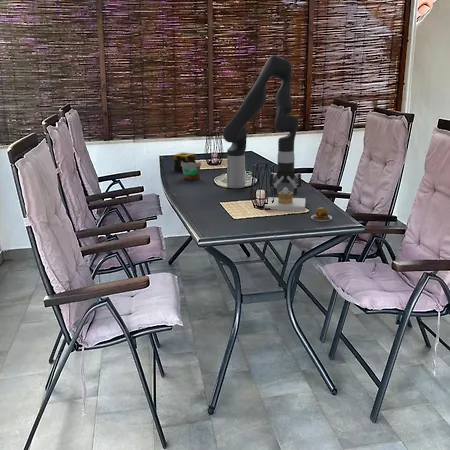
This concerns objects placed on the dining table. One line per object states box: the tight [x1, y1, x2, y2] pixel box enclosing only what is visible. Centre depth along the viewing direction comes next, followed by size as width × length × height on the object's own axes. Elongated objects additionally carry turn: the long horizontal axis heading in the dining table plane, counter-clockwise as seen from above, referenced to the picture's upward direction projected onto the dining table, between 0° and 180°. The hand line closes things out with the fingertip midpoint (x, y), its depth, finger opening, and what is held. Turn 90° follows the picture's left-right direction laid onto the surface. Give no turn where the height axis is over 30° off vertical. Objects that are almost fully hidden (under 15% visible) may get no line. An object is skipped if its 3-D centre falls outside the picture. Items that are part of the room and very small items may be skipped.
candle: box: [173, 152, 197, 172], centre depth 313 cm, size 10×10×10 cm
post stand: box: [264, 186, 306, 212], centre depth 232 cm, size 18×14×9 cm
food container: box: [181, 161, 202, 182], centre depth 287 cm, size 12×6×10 cm, turn 68°
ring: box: [277, 190, 294, 204], centre depth 232 cm, size 6×6×4 cm
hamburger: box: [310, 206, 333, 222], centre depth 214 cm, size 12×12×6 cm
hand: (285, 195), depth 232 cm, fingers open, 8 cm apart
